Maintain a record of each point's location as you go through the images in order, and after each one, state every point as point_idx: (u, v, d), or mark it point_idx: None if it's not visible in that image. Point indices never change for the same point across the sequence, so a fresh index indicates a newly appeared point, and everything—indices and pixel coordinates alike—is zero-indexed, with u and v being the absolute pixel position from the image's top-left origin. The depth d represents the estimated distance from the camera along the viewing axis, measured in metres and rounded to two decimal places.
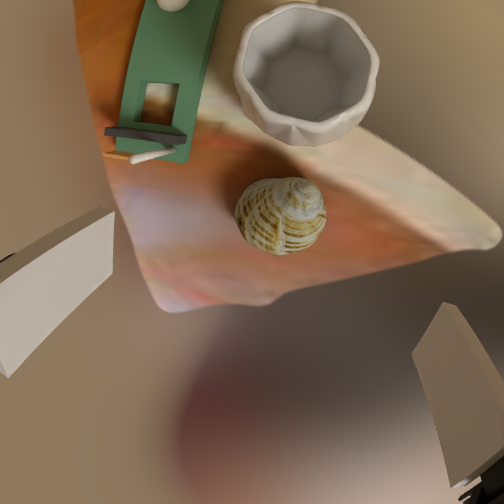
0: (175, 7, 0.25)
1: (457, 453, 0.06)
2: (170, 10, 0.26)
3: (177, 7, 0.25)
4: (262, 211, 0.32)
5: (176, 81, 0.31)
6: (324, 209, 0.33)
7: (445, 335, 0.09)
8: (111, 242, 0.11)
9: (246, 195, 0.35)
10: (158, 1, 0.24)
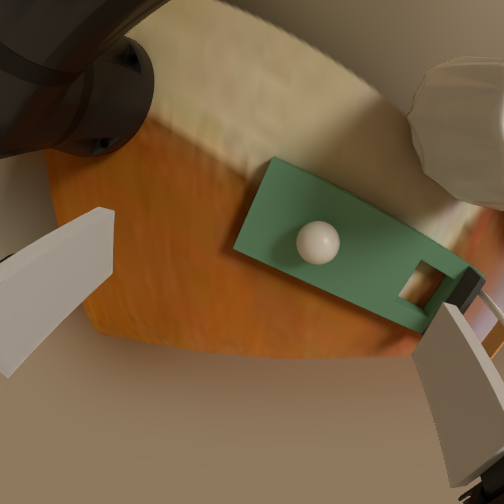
0: (339, 243, 0.27)
1: (457, 453, 0.06)
2: None
3: (339, 240, 0.27)
4: None
5: (417, 262, 0.29)
6: None
7: (445, 335, 0.09)
8: (111, 242, 0.11)
9: None
10: (323, 263, 0.27)
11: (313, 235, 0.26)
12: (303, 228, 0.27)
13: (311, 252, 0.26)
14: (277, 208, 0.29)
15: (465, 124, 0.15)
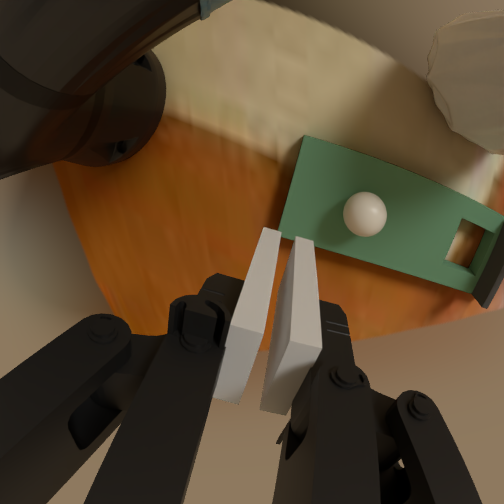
0: None
1: (268, 371, 0.08)
2: None
3: None
4: None
5: (458, 221, 0.26)
6: None
7: (289, 264, 0.11)
8: None
9: None
10: (374, 233, 0.25)
11: (362, 206, 0.24)
12: (349, 201, 0.25)
13: (362, 224, 0.24)
14: (317, 186, 0.27)
15: (491, 74, 0.12)
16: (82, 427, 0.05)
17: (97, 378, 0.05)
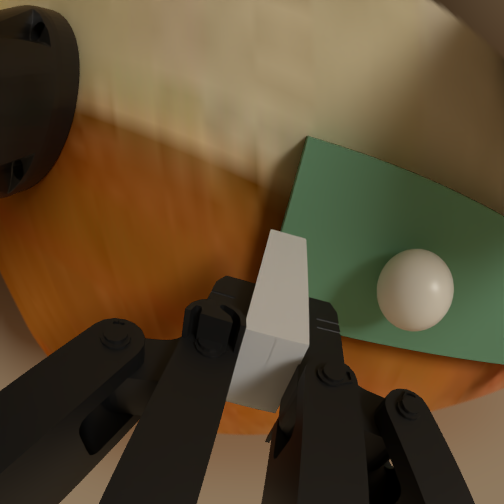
0: None
1: None
2: None
3: (452, 280, 0.12)
4: None
5: None
6: None
7: None
8: None
9: None
10: None
11: (417, 285, 0.11)
12: (391, 271, 0.13)
13: (414, 318, 0.12)
14: (330, 234, 0.15)
15: None
16: (92, 432, 0.05)
17: (110, 384, 0.05)
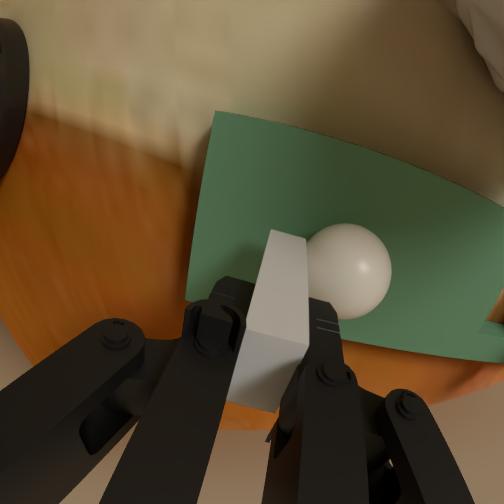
0: None
1: None
2: None
3: None
4: None
5: None
6: None
7: None
8: None
9: None
10: (362, 315, 0.12)
11: (334, 263, 0.11)
12: (308, 248, 0.12)
13: (335, 302, 0.11)
14: (248, 212, 0.14)
15: None
16: (92, 432, 0.05)
17: (110, 384, 0.05)
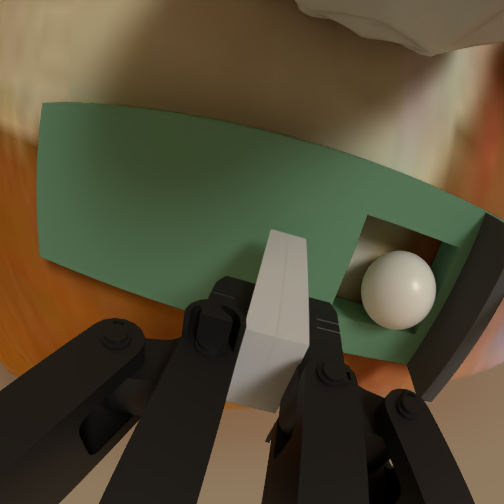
0: None
1: None
2: None
3: None
4: None
5: (359, 222, 0.13)
6: None
7: None
8: None
9: None
10: None
11: (433, 294, 0.12)
12: (412, 297, 0.12)
13: None
14: (62, 178, 0.14)
15: None
16: (92, 432, 0.05)
17: (110, 384, 0.05)
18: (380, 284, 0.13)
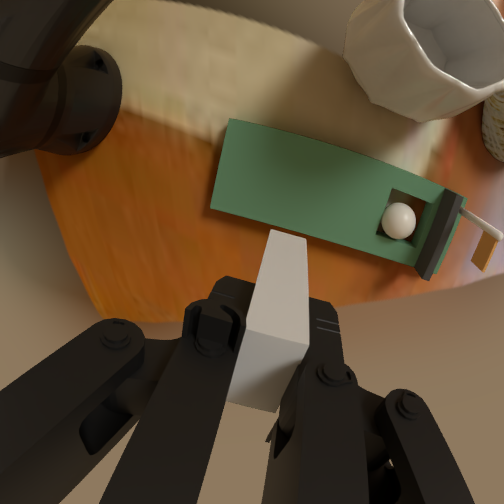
0: None
1: None
2: None
3: None
4: None
5: (388, 191, 0.29)
6: None
7: None
8: None
9: (501, 148, 0.24)
10: None
11: (409, 219, 0.29)
12: (396, 216, 0.29)
13: (409, 232, 0.29)
14: (242, 162, 0.31)
15: (377, 36, 0.16)
16: (92, 432, 0.05)
17: (110, 384, 0.05)
18: (385, 211, 0.30)
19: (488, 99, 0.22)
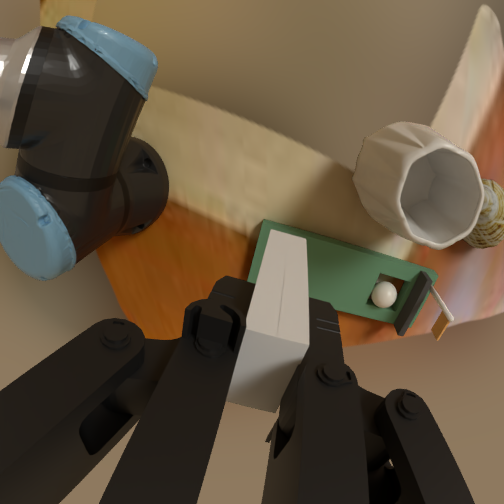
0: None
1: None
2: None
3: None
4: (487, 233, 0.32)
5: (377, 275, 0.42)
6: (487, 182, 0.32)
7: None
8: None
9: (470, 239, 0.36)
10: None
11: (392, 296, 0.41)
12: (382, 294, 0.41)
13: (391, 304, 0.41)
14: None
15: (379, 199, 0.28)
16: (92, 432, 0.05)
17: (110, 384, 0.05)
18: (374, 289, 0.42)
19: None
